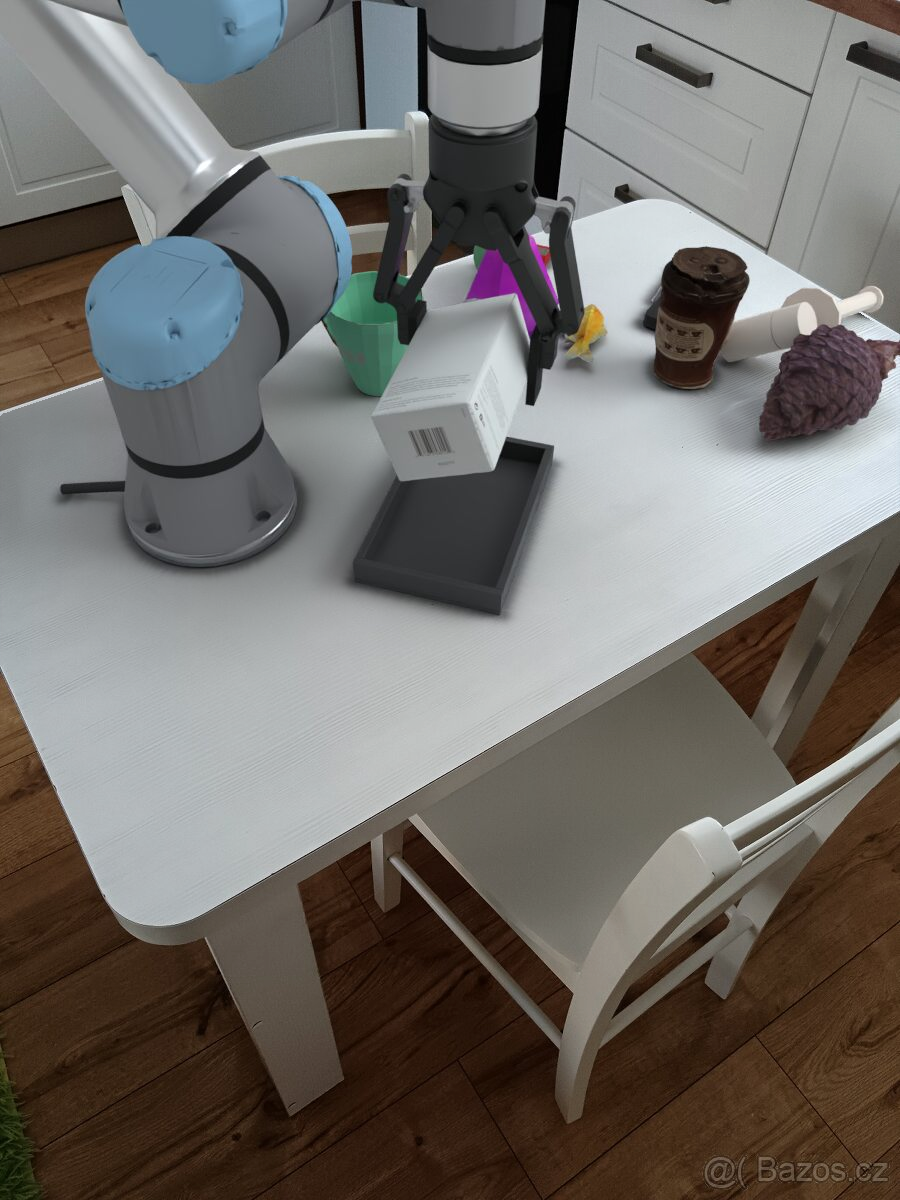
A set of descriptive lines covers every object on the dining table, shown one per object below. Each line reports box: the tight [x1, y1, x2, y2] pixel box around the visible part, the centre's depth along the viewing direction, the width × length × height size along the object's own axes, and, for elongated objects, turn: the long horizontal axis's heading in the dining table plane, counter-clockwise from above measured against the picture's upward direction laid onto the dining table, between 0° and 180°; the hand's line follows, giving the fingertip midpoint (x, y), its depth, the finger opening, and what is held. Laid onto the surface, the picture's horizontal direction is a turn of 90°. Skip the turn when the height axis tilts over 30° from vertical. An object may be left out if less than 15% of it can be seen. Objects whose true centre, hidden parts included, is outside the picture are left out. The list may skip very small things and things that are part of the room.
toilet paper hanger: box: [719, 285, 884, 363], centre depth 104 cm, size 21×11×7 cm
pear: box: [464, 231, 559, 339], centre depth 102 cm, size 11×11×15 cm
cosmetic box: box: [370, 293, 530, 481], centre depth 75 cm, size 8×7×16 cm
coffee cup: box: [652, 245, 751, 390], centre depth 96 cm, size 9×8×13 cm
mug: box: [320, 270, 425, 397], centre depth 97 cm, size 15×10×10 cm
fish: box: [562, 304, 608, 363], centre depth 105 cm, size 12×2×5 cm
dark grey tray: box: [352, 435, 555, 615], centre depth 85 cm, size 20×13×2 cm, turn 163°
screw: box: [650, 285, 662, 303], centre depth 113 cm, size 8×1×1 cm
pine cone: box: [758, 324, 900, 442], centre depth 93 cm, size 18×10×10 cm, turn 124°
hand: (475, 385), depth 81 cm, fingers closed on cosmetic box, 9 cm apart
